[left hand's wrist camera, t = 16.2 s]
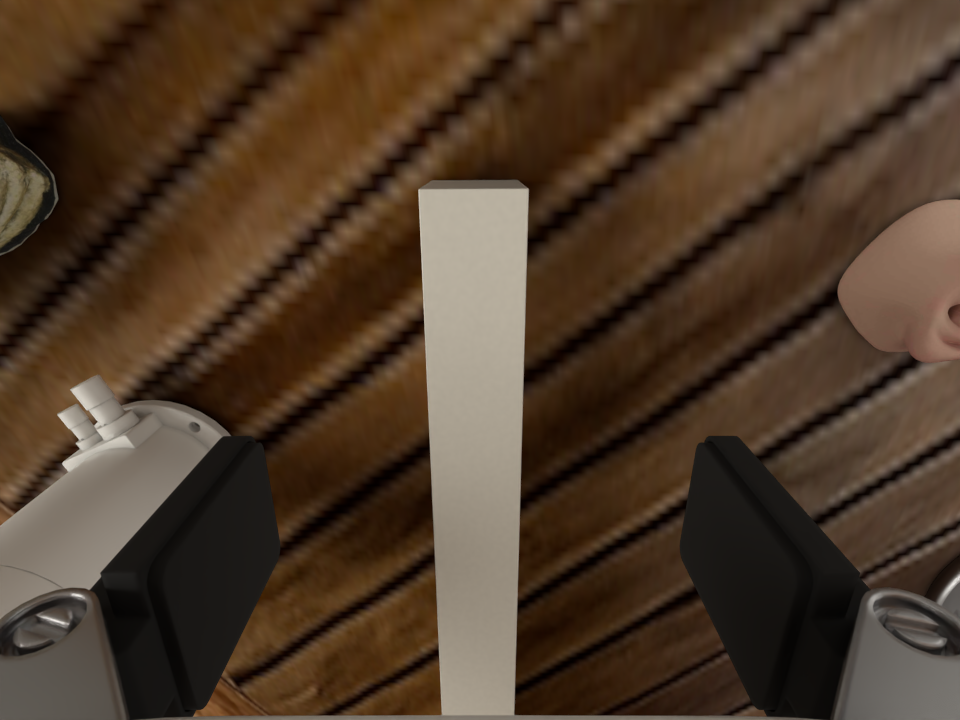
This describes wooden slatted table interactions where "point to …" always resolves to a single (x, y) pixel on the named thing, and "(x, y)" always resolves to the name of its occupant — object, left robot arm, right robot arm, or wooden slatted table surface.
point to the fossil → (22, 191)
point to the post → (475, 429)
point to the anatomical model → (910, 285)
